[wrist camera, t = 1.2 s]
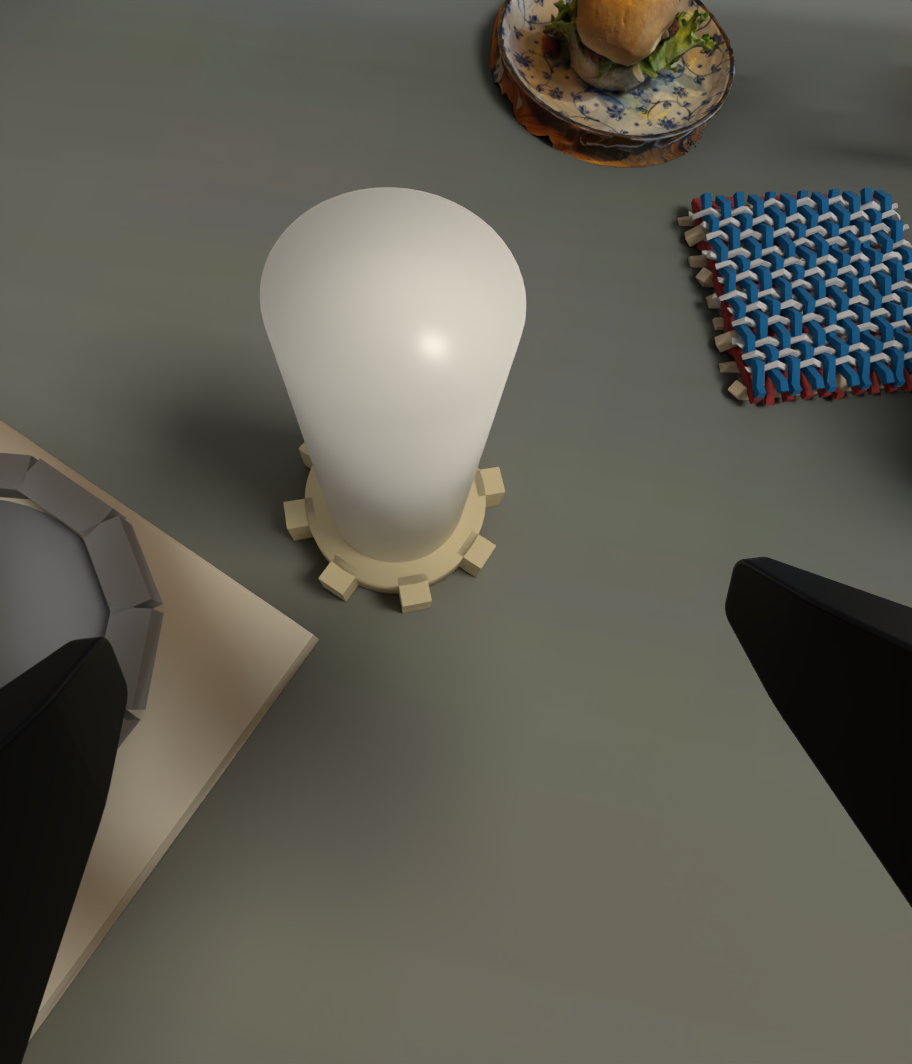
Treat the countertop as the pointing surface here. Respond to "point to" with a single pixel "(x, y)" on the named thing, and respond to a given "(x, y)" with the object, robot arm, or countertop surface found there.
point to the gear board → (133, 665)
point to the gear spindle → (393, 382)
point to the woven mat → (807, 291)
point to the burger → (613, 74)
